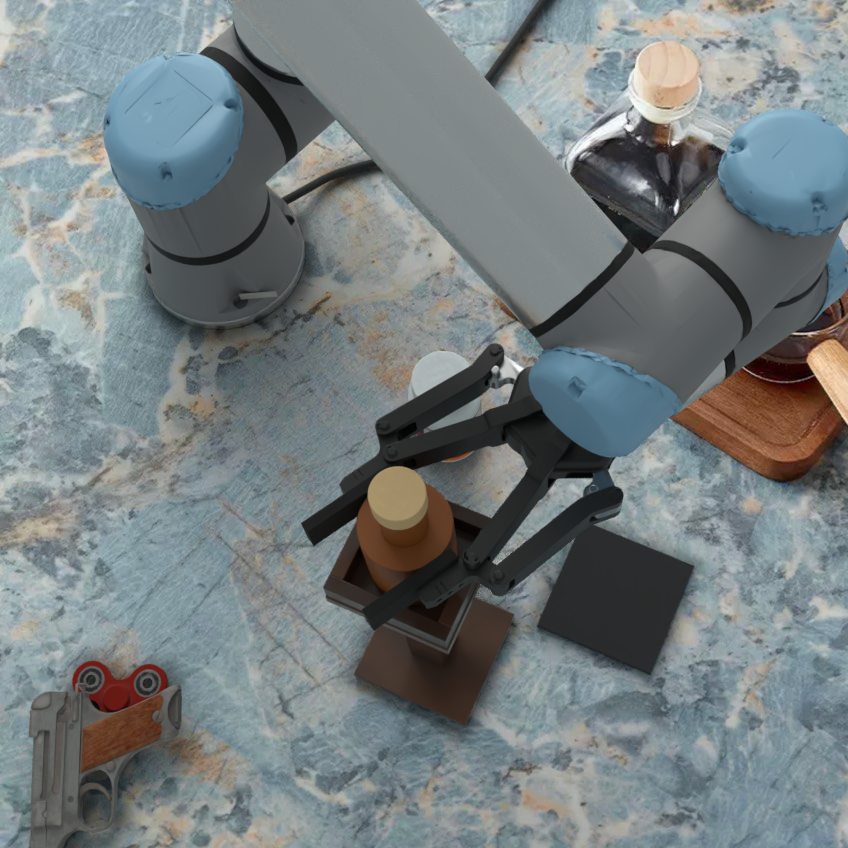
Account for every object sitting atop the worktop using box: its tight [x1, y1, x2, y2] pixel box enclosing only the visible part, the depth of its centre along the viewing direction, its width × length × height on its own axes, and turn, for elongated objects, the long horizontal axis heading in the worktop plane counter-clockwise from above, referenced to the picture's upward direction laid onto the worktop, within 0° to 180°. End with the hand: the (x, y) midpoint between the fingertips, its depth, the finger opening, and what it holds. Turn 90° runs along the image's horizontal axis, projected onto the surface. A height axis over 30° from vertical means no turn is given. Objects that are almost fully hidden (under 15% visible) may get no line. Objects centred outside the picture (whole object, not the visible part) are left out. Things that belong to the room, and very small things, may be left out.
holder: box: [322, 498, 515, 728], centre depth 97 cm, size 10×10×25 cm
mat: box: [536, 524, 695, 676], centre depth 109 cm, size 10×10×1 cm
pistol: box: [28, 683, 183, 848], centre depth 104 cm, size 19×2×12 cm
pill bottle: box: [406, 350, 483, 463], centre depth 111 cm, size 6×6×11 cm
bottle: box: [355, 466, 459, 607], centre depth 81 cm, size 6×6×13 cm
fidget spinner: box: [71, 660, 169, 713], centre depth 108 cm, size 8×7×1 cm
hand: (337, 576), depth 80 cm, fingers closed on bottle, 6 cm apart
